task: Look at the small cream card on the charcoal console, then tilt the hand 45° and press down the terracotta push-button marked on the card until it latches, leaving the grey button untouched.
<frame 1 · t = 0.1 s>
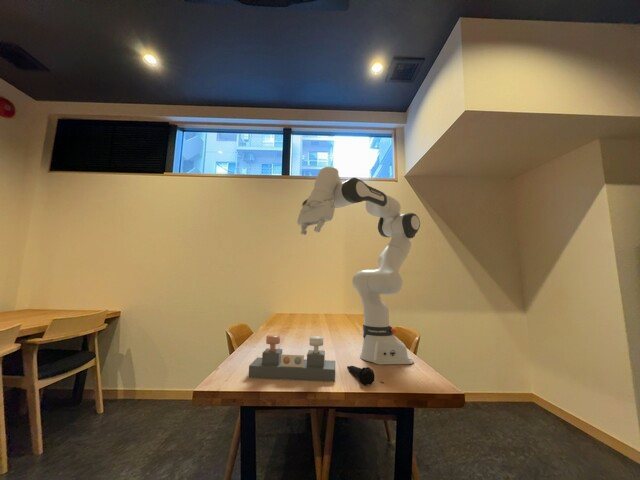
hand: (309, 233, 107), 52 cm above the table, tool tilted 20°, fingers open, 8 cm apart
grey button: (316, 346, 100), point 10 cm above the table, slide at 0.0 cm
terracotta button: (272, 344, 101), point 10 cm above the table, slide at 0.0 cm
button console: (293, 374, 99), on the table
microphone: (360, 378, 99), on the table
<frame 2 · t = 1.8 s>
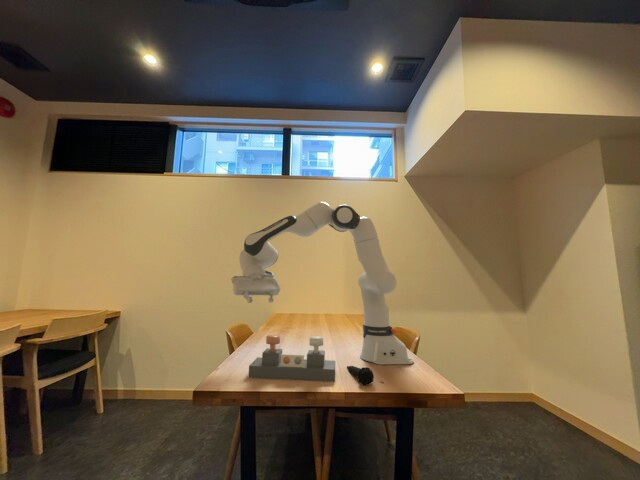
hand: (261, 301, 113), 25 cm above the table, tool tilted 45°, fingers open, 8 cm apart
nothing on the table moved.
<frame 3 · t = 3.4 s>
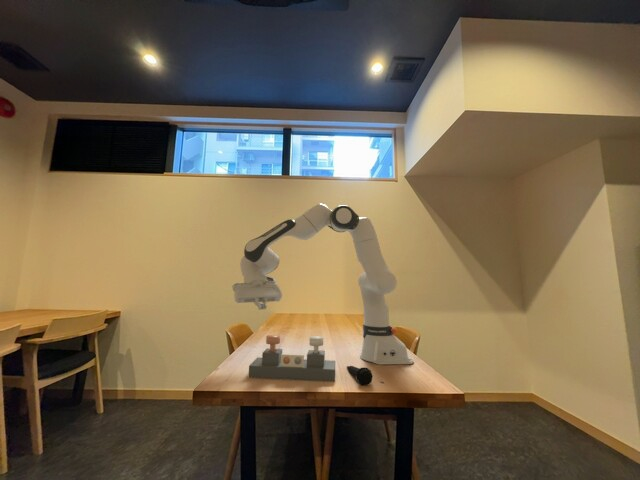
hand: (262, 308, 112), 22 cm above the table, tool tilted 45°, fingers closed
nothing on the table moved.
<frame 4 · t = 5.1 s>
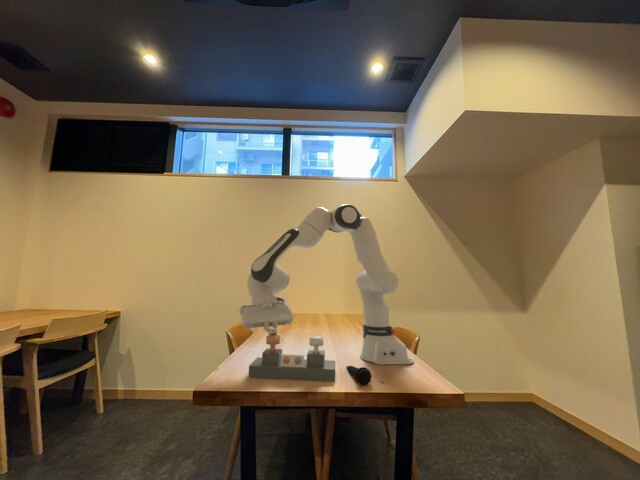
hand: (273, 334, 102), 14 cm above the table, tool tilted 45°, fingers closed, pressing on terracotta button
terracotta button: (272, 344, 101), point 10 cm above the table, slide at 0.1 cm, touching gripper
everything else where it was.
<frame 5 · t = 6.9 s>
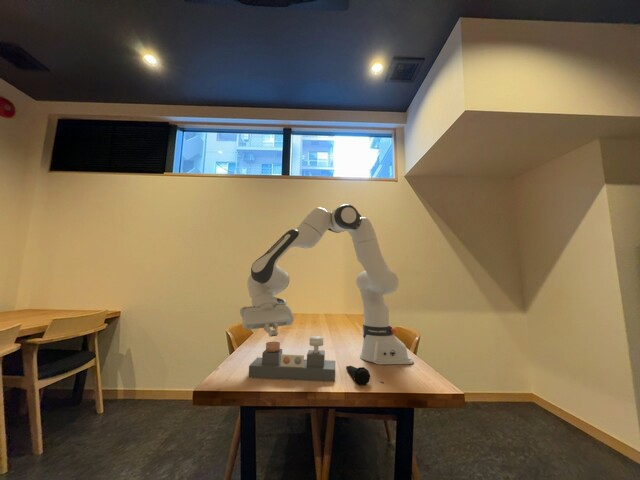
hand: (273, 335, 102), 13 cm above the table, tool tilted 45°, fingers closed
terracotta button: (272, 351, 101), point 8 cm above the table, slide at 2.5 cm
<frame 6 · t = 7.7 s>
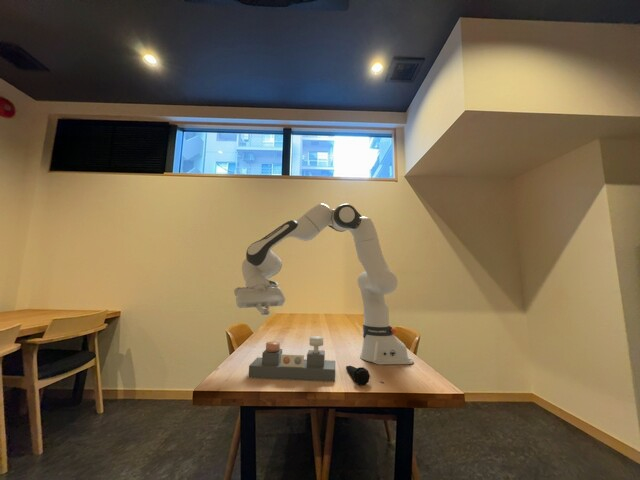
hand: (265, 313, 109), 20 cm above the table, tool tilted 45°, fingers closed
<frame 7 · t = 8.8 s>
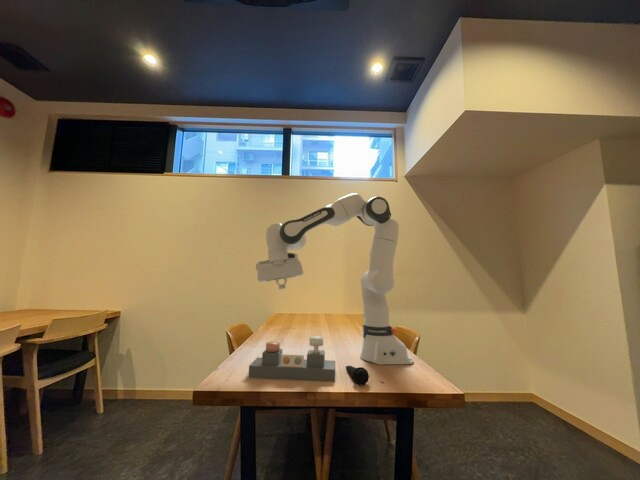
hand: (282, 288, 121), 30 cm above the table, tool pointing down, fingers closed
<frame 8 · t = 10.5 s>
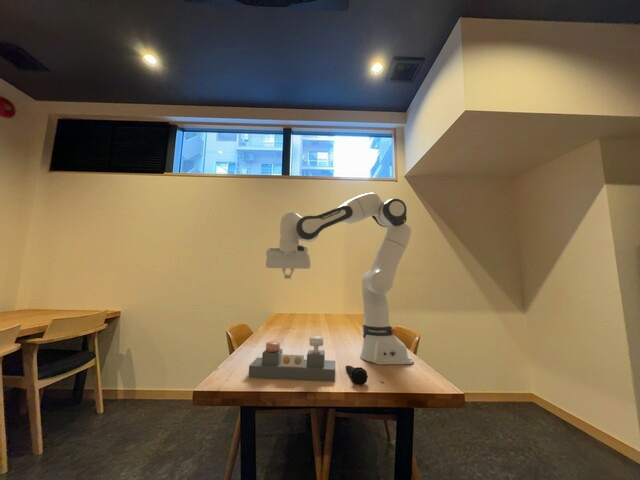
hand: (287, 278, 124), 34 cm above the table, tool pointing down, fingers closed
at the end: terracotta button slide at 2.5 cm; grey button slide at 0.0 cm; microphone moved 1.8 cm from its start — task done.
